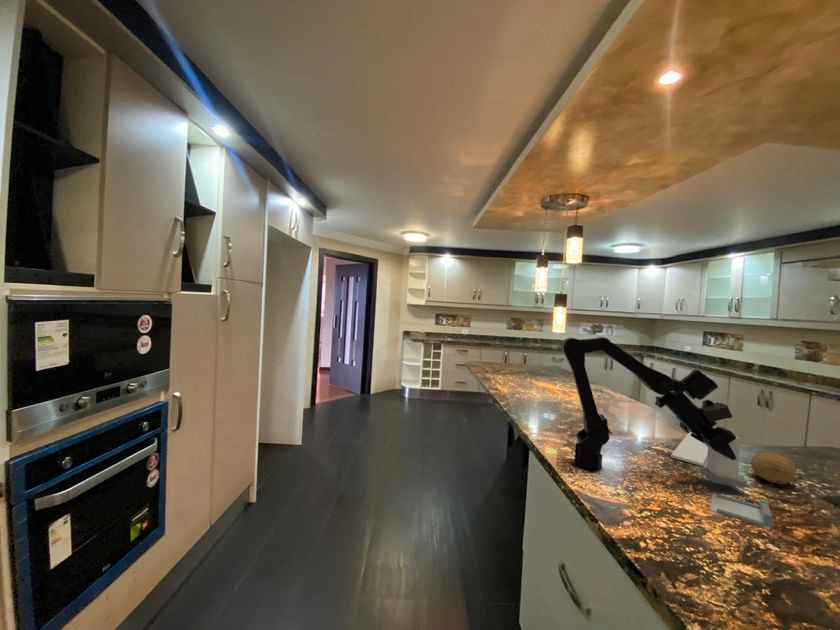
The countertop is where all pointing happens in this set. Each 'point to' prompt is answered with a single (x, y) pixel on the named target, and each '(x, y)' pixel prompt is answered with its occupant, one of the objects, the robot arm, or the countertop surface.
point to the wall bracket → (691, 451)
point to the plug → (724, 466)
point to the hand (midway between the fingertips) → (729, 455)
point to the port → (743, 510)
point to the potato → (773, 467)
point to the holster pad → (721, 488)
